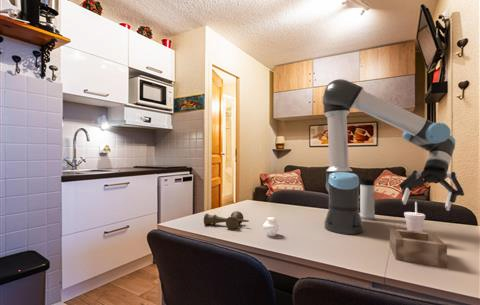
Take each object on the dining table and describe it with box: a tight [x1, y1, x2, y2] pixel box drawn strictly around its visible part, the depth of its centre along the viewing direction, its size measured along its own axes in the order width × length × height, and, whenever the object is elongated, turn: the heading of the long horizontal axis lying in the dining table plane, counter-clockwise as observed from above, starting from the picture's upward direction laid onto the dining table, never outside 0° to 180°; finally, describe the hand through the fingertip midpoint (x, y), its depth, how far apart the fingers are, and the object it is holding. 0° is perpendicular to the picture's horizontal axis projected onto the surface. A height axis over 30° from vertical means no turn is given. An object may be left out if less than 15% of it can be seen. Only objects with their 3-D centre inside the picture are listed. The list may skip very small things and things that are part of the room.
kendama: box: [203, 210, 250, 231], centre depth 106 cm, size 6×10×20 cm
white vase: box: [262, 216, 280, 237], centre depth 94 cm, size 6×6×7 cm
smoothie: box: [403, 201, 426, 232], centre depth 90 cm, size 6×6×14 cm
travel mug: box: [359, 177, 376, 221], centre depth 122 cm, size 6×7×20 cm
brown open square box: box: [389, 228, 448, 268], centre depth 75 cm, size 12×12×6 cm
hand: (424, 205), depth 92 cm, fingers open, 13 cm apart
